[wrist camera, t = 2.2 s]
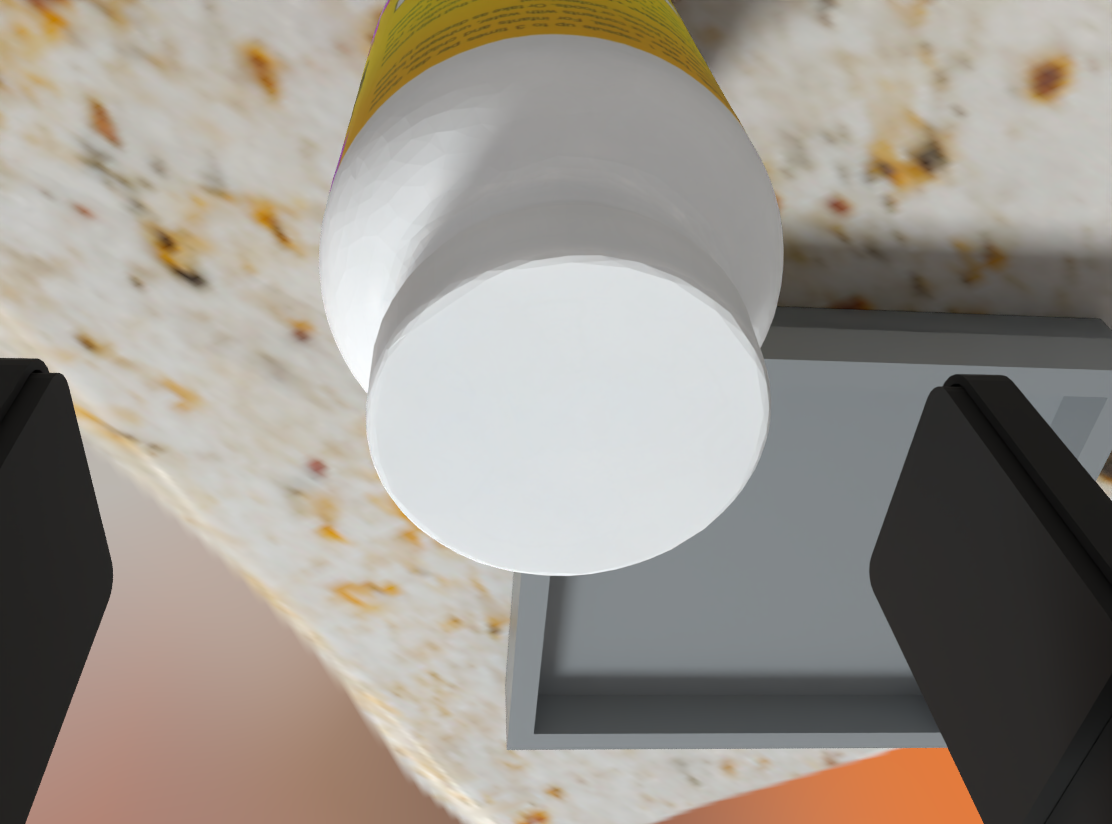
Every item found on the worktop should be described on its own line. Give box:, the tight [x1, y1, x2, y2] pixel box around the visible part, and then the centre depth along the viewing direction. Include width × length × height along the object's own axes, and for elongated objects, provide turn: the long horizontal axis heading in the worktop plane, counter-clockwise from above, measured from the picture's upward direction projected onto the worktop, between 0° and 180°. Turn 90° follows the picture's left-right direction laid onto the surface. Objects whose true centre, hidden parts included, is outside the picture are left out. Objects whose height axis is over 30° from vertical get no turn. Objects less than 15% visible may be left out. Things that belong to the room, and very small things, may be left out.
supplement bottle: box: [319, 0, 784, 576], centre depth 17 cm, size 7×7×13 cm
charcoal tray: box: [505, 307, 1112, 750], centre depth 29 cm, size 15×15×2 cm
